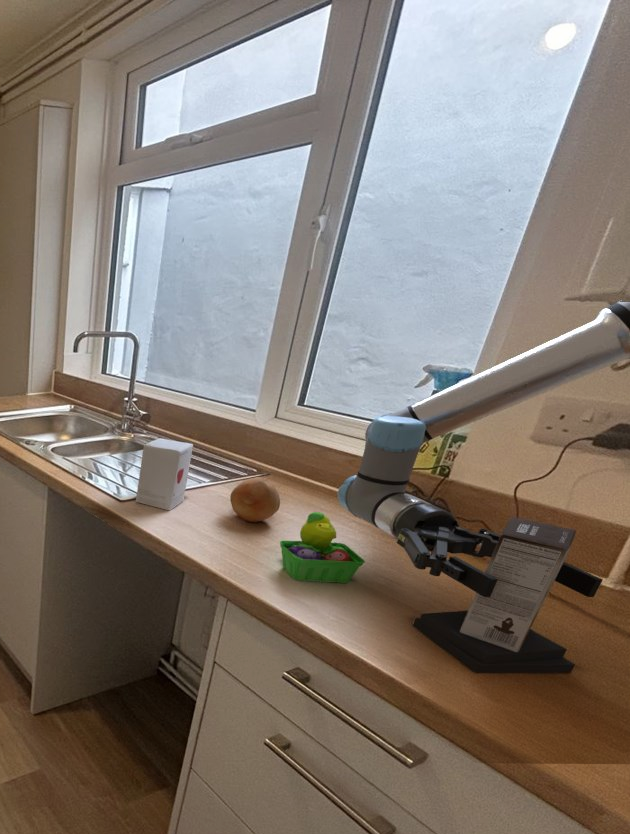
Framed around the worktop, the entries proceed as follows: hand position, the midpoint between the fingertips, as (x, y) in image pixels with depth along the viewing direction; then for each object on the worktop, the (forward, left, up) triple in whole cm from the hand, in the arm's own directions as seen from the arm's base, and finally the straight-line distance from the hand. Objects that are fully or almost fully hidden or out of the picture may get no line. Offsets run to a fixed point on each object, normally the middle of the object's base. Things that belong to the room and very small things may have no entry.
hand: (543, 588), depth 70 cm
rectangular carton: (+28, -61, -12) cm, 69 cm away
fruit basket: (+12, -25, -12) cm, 31 cm away
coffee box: (0, -3, -9) cm, 10 cm away
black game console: (0, -3, -12) cm, 13 cm away
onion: (+11, -50, -12) cm, 53 cm away
